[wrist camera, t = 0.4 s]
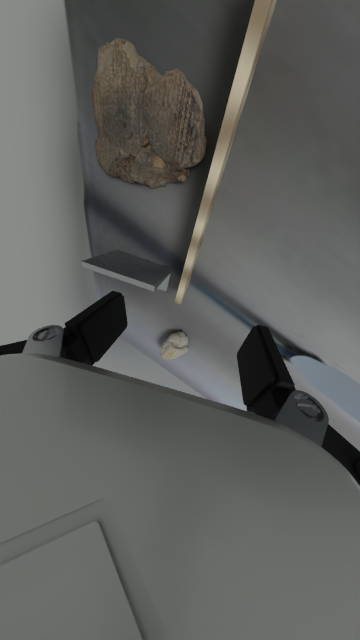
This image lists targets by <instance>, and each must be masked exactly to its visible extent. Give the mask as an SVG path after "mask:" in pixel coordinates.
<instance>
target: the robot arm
mask: <svg viewBox="0 0 360 640" xmlns="http://www.w3.org/2000/svg"><path fill="white" fill-rule="evenodd" d="M65 326H66V327H65V328H64V329H63V328H62V327H61V326H58V325H49V326H45V327H42V328H39V329H37V330H35V331H34V332H33V333H32V334H31V335H30V336H29V338H28V340H25V341H20V342H16V343H12V344H7V345H3V346H0V640H360V452H359V450H357V449H356V448H355V447H354V446H353V445H352V444H350V443H349V442H348V441H347V440H346V439H345V438H344V437H342V436H341V435H340V434H339V433H338V432H337V431H336V430H334V429H333V428H332V427H331V426H330V425H329V424H328V422H329V418H328V415H327V412H326V411H325V409H324V408H323V406H322V405H321V404H320V403H319V402H318V401H317V400H316V399H315V398H314V397H312V396H311V395H309V394H308V393H305V392H303V391H299V390H296V389H295V387H294V383H293V380H292V378H291V376H290V374H289V372H288V370H287V367H286V365H285V363H284V361H283V359H282V357H281V355H280V352H279V350H278V348H277V346H276V344H275V342H274V339H273V337H272V335H271V333H270V331H269V329H268V327H265V326H261V325H257V326H254V327H253V328H252V329H251V331H250V333H249V334H248V336H247V338H246V339H245V341H244V343H243V344H242V346H241V348H240V349H239V351H238V353H237V360H238V367H239V374H240V381H241V388H242V395H243V402H244V404H245V405H246V406H247V411H248V412H247V411H244V410H241V409H237V408H234V407H231V406H228V405H225V404H221V403H218V402H214V401H211V400H208V399H204V398H201V397H197V396H194V395H190V394H187V393H184V392H181V391H177V390H174V389H171V388H167V387H163V386H160V385H157V384H153V383H150V382H147V381H143V380H140V379H136V378H133V377H129V376H126V375H122V374H119V373H116V372H112V371H109V370H105V369H102V368H98V367H95V366H92V365H93V364H94V363H95V362H97V361H99V360H100V358H101V357H102V356H103V355H104V354H105V352H106V351H107V350H108V349H109V348H110V347H111V345H112V344H113V343H114V342H115V341H116V339H117V338H118V337H119V336H120V335H121V334H122V332H123V331H124V330H125V329H126V327H127V316H126V309H125V302H124V296H123V295H122V294H121V293H119V292H115V291H112V292H110V293H109V294H107V295H106V296H104V297H103V298H101V299H100V300H98V301H97V302H95V303H94V304H92V305H91V306H90V307H88V308H87V309H85V310H84V311H82V312H81V313H79V314H78V315H76V316H75V317H74V318H72V319H71V320H69V321H68V322H66V323H65ZM250 412H251V413H250ZM253 413H255V414H253Z"/></svg>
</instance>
